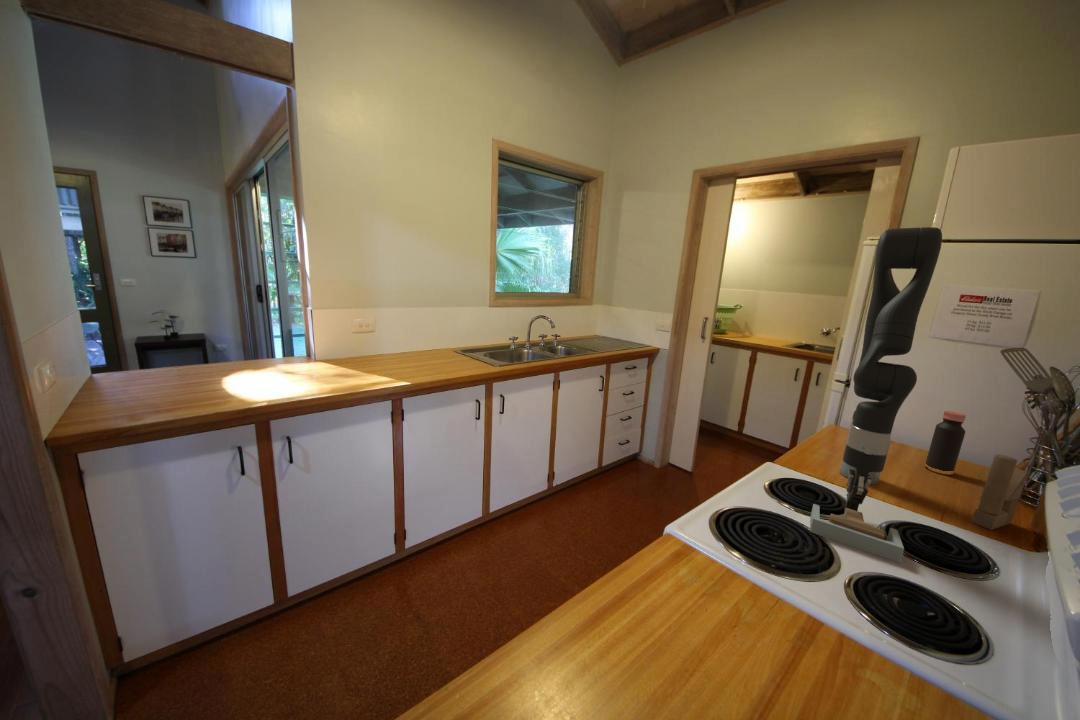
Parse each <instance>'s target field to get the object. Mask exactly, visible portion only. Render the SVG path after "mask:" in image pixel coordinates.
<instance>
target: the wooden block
mask: <svg viewBox="0 0 1080 720" xmlns="http://www.w3.org/2000/svg"><path fill="white" fill-rule="evenodd" d="M1017 463H1018V460H1017V459H1016V458H1015V457H1012V456H1008V455H1005V454H997V453H996V454H995V455H994V457H993V460H992V464H991V466H990V469H989V471H988V475H987V478H986V482H985V485H984V488H983V492H982V493H981V494H982V495H981V496H980V497H981V498H980V501H979V503H978V508H977V509H975V510H974V514H973V517H972V519H971V523H973V524H976V525H978V526H980V527H983V528H985V529H987V530H990V531H993V530H995V529H997V528H1002V527H1004V526H1008V525H1010V524H1012V522H1013V518H1014V515H1015V513H1016V512H1015V511H1016V509H1017V506H1018V504H1019V499H1020V498H1021V495H1022V493H1023V489H1024V487H1025V484H1026V480H1027V477H1028V474H1029V471H1028V470H1027V471H1026V470H1023V469H1020V468H1019V467H1018V468H1017V467H1016V466H1017Z"/></svg>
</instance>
